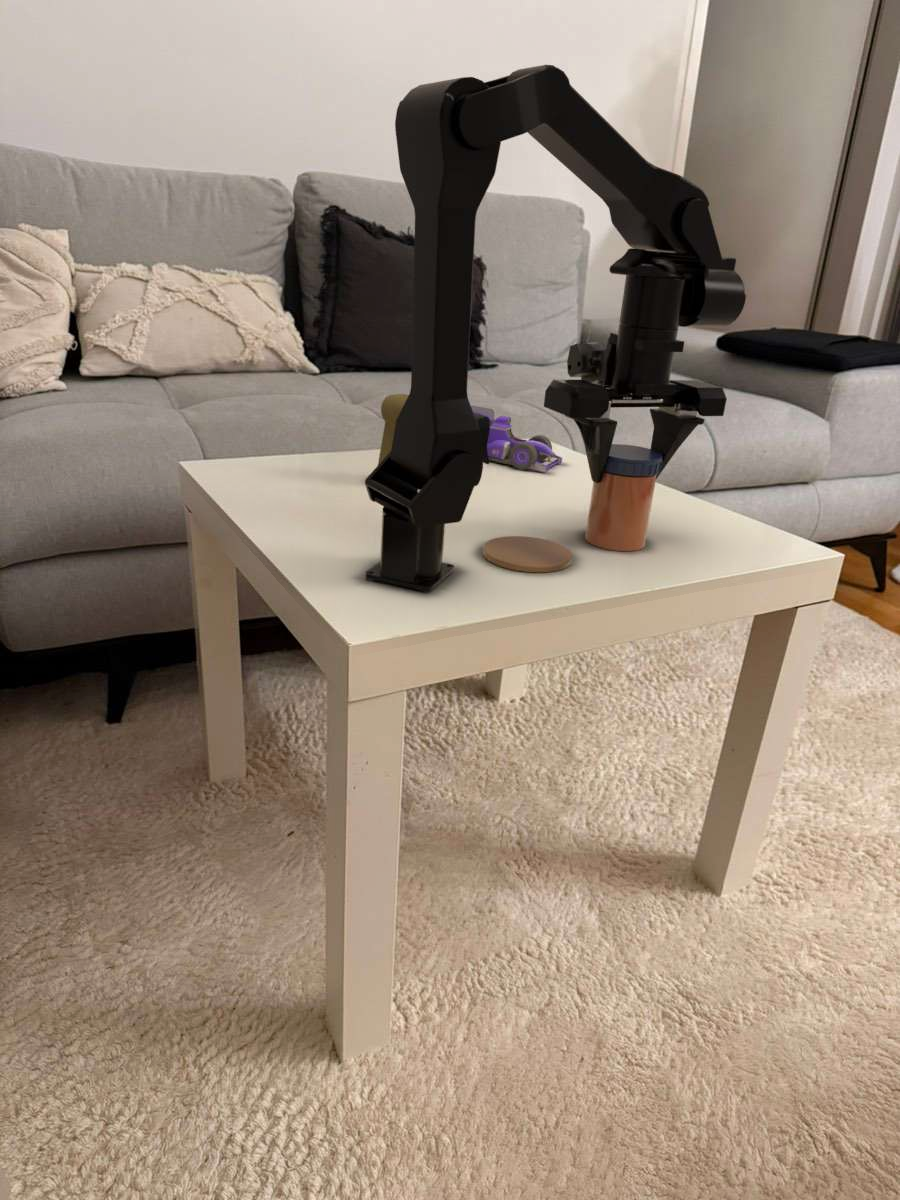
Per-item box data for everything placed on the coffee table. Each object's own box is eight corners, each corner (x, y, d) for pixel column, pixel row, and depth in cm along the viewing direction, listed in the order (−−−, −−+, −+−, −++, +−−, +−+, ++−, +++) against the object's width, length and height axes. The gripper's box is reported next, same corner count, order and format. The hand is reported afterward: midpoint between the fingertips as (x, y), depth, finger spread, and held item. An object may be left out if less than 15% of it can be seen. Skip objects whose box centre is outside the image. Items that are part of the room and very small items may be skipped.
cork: (416, 492, 104) (421, 401, 100) (369, 486, 105) (372, 396, 101) (427, 480, 110) (432, 394, 105) (382, 474, 111) (385, 388, 106)
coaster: (558, 579, 81) (559, 573, 80) (469, 561, 83) (470, 555, 83) (580, 551, 88) (581, 546, 88) (498, 535, 91) (499, 530, 91)
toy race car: (542, 476, 116) (548, 428, 114) (444, 457, 122) (447, 411, 119) (564, 462, 124) (570, 418, 122) (471, 446, 130) (475, 403, 127)
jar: (639, 555, 89) (654, 467, 85) (579, 544, 91) (591, 457, 87) (648, 538, 94) (663, 454, 90) (592, 528, 96) (604, 445, 92)
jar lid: (654, 480, 85) (657, 464, 84) (585, 469, 87) (587, 453, 86) (665, 465, 91) (667, 450, 90) (600, 455, 93) (602, 440, 93)
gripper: (674, 320, 94) (651, 458, 100) (526, 314, 87) (511, 464, 93) (743, 333, 85) (713, 484, 91) (584, 327, 77) (563, 493, 83)
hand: (624, 480), depth 90 cm, fingers closed on jar lid, 7 cm apart
